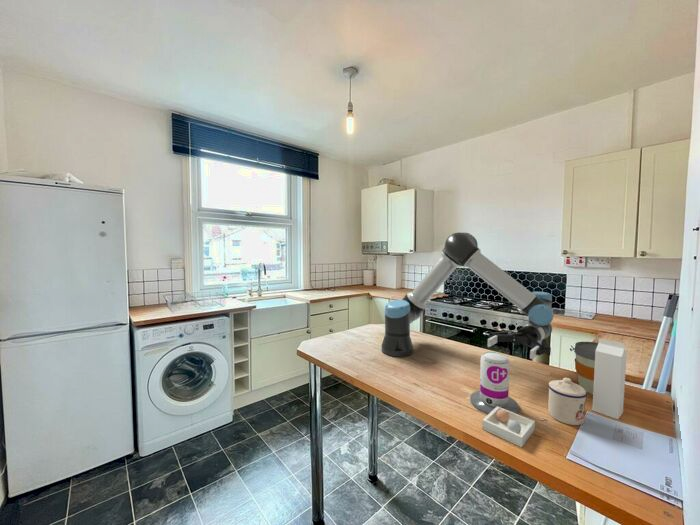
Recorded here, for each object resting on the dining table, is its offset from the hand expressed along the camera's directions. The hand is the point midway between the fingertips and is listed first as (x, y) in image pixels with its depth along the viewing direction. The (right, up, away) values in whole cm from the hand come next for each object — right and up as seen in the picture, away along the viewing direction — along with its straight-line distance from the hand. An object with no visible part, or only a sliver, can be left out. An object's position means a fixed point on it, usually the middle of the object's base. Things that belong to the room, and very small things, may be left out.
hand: (508, 348), depth 100 cm
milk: (+24, -16, -11) cm, 31 cm away
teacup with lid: (+11, -16, -12) cm, 23 cm away
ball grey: (-10, -15, -21) cm, 28 cm away
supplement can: (-8, -15, -6) cm, 18 cm away
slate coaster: (-8, -16, -6) cm, 19 cm away
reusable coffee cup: (+31, -15, +2) cm, 35 cm away
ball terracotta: (-10, -14, -16) cm, 24 cm away
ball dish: (-10, -17, -19) cm, 27 cm away
